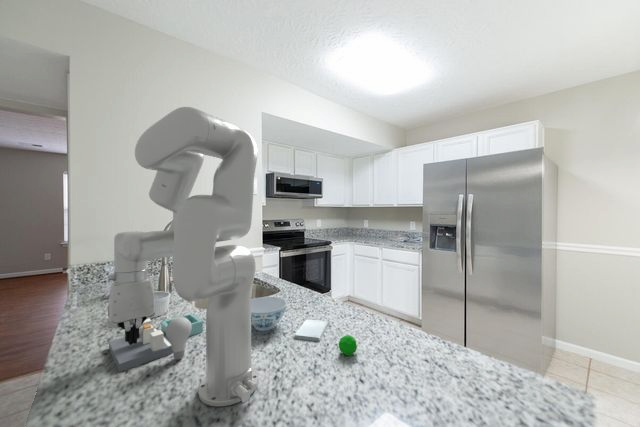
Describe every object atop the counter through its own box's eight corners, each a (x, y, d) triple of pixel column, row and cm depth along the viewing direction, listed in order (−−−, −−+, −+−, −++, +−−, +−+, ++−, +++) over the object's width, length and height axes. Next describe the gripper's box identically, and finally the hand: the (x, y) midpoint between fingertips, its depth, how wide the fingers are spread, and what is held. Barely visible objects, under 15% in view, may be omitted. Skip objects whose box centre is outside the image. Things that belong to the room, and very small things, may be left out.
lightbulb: (180, 367, 65) (180, 323, 65) (160, 364, 66) (159, 321, 66) (196, 354, 71) (196, 314, 71) (177, 351, 72) (177, 312, 72)
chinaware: (254, 316, 97) (254, 295, 97) (292, 319, 94) (292, 298, 94) (233, 334, 83) (232, 310, 83) (277, 339, 80) (277, 314, 79)
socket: (202, 331, 84) (202, 321, 84) (170, 342, 77) (170, 330, 77) (191, 323, 91) (191, 313, 91) (161, 332, 84) (160, 321, 84)
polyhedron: (353, 348, 74) (353, 331, 74) (359, 357, 69) (359, 340, 69) (336, 349, 73) (336, 333, 73) (341, 359, 68) (341, 341, 68)
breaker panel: (173, 352, 72) (173, 331, 72) (119, 372, 63) (119, 347, 63) (156, 334, 83) (156, 315, 83) (108, 348, 74) (108, 327, 74)
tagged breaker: (153, 341, 74) (153, 325, 74) (143, 344, 72) (143, 328, 72) (150, 337, 76) (150, 322, 76) (140, 340, 74) (140, 325, 74)
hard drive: (319, 338, 78) (328, 320, 90) (293, 335, 80) (305, 318, 92) (319, 343, 78) (328, 325, 90) (293, 340, 80) (305, 323, 92)
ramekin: (173, 306, 108) (173, 289, 108) (165, 318, 95) (165, 299, 95) (136, 310, 103) (136, 292, 103) (122, 323, 91) (122, 304, 91)
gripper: (98, 284, 63) (99, 359, 64) (166, 273, 74) (166, 337, 75) (94, 279, 69) (94, 348, 69) (158, 269, 80) (158, 329, 80)
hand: (132, 342), depth 72 cm, fingers closed
